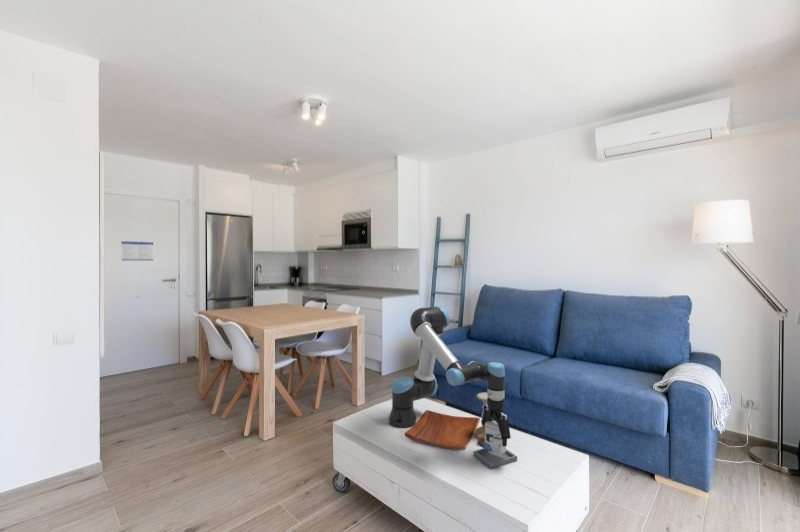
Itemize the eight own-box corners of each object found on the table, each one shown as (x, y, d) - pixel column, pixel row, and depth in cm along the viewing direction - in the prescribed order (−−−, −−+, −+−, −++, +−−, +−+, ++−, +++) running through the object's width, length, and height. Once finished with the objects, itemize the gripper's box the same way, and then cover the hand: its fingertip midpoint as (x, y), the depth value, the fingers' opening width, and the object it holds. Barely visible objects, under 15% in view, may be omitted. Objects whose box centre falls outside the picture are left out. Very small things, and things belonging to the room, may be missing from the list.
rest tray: (473, 455, 170) (473, 451, 170) (498, 448, 177) (498, 444, 177) (490, 469, 159) (490, 464, 159) (517, 460, 166) (517, 456, 166)
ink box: (484, 448, 169) (484, 422, 169) (489, 444, 172) (489, 419, 172) (501, 455, 163) (501, 428, 163) (506, 450, 167) (506, 424, 166)
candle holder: (501, 432, 192) (502, 394, 192) (496, 443, 182) (496, 402, 181) (478, 427, 198) (478, 390, 198) (471, 437, 187) (472, 397, 187)
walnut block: (477, 444, 180) (477, 436, 180) (482, 440, 184) (482, 432, 184) (486, 448, 177) (487, 440, 177) (491, 444, 181) (492, 436, 181)
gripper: (473, 391, 175) (473, 438, 176) (506, 408, 156) (505, 461, 156) (486, 388, 179) (485, 434, 179) (520, 405, 159) (519, 456, 160)
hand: (495, 447), depth 168 cm, fingers closed on ink box, 9 cm apart
